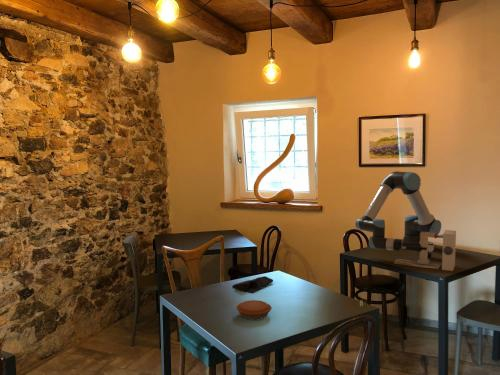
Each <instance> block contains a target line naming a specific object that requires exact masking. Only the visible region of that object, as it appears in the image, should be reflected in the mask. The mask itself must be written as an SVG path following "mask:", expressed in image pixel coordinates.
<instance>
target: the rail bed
mask: <svg viewBox="0 0 500 375" xmlns="http://www.w3.org/2000/svg"><path fill="white" fill-rule="evenodd" d="M393 264H395V265H403V266H408V267H409V266H412V267H417V268H427V269H428V268H429V269H434V270H435V269H436V270H439V268H440V267H441V266H442V263H437V262H429V263H428V264H419V263H417V260H412V259H411V260H410V259H409V260H408V259H402V258H401V259H400V258H396V260H394V262H393Z"/></svg>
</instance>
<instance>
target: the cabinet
mask: <svg viewBox="0 0 500 375" xmlns="http://www.w3.org/2000/svg"><path fill="white" fill-rule="evenodd" d="M442 233H443V234H442V235H443V238H442V256H441V257H442V259H441V270H442V271H451V272H453V271H454V269H455V266H456V244H457V243H456V242H457V231H456V230H451V229H450V230H448V229H445V230H444V232H442Z"/></svg>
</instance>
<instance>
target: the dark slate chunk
mask: <svg viewBox="0 0 500 375" xmlns="http://www.w3.org/2000/svg"><path fill="white" fill-rule="evenodd" d="M273 282H274V279H272V278H270V277H267V276H258V277H255V278H253V279H250V280H249V279H248V280H244V281H242V282H237V283H234V284H233V285H232V286H231V288H232V289H233V290H237V291H239V292H242V293H249V294H254V293H255V292H257V291H260V290H262V289H263V288H265V287H267V286H269V285H270V284H271V283H273Z"/></svg>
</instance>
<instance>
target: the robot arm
mask: <svg viewBox="0 0 500 375" xmlns="http://www.w3.org/2000/svg"><path fill="white" fill-rule="evenodd" d="M421 181H422V180H421V177H420V175H419V174H418V173H416V172H412V171H397V170H396V171H392V172H390V173H389V174H388V175H386V176H385V177H384V178H383V180H382V181H381V183H380V184H379V188H378V190H377V192H376V193H375V195H374V197H373V198H372V200H371V201H370V204H369V205H368V207H367V209H366V210H365V212H364V214H363V215H362V217H361V218H358V219H356V220H355V224H354V225H355V228H356V229H357V230H360V231H363V232H369V233H372V236H370V237H369V239H368V247H370V248H371V249H376V250H385V251H386V250H387V251H388V252H390V251H394V252H395V251H396V252H400V251H401V249H402V250H405V251H416V252H418V251H419V252H421V250H422V251H432V253H433V251H434V250H435V245H434V244H433V245H428V246H420V243H419V242H420V233H421V232H428V233H437V234H440V233H441V230H442V221H440V220H439V219H436V218H435V215H434V214H432V213H431V212H430V210H429V208H428V206H427V204H426V202H425V200H424V198H423V196H422V193H421V191H420V187H421V184H422V183H421ZM395 189H400V190H401V192H402V193H403V195H405V196H407V198H408V201H409V203H410V204H411V208H412V209H413V210H414V213H415V214H413V215H406V216H405V218H404V235H403V238H402V240H401V239H399V238H391V237H386V222H385V219H383V218H377V215H378V214H379V212H380V211H381V209H382V207H383V205H384V204H385V202H386V200H387V199H388V197H389V195H390V194H391V193H393V192H394V190H395Z"/></svg>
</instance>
